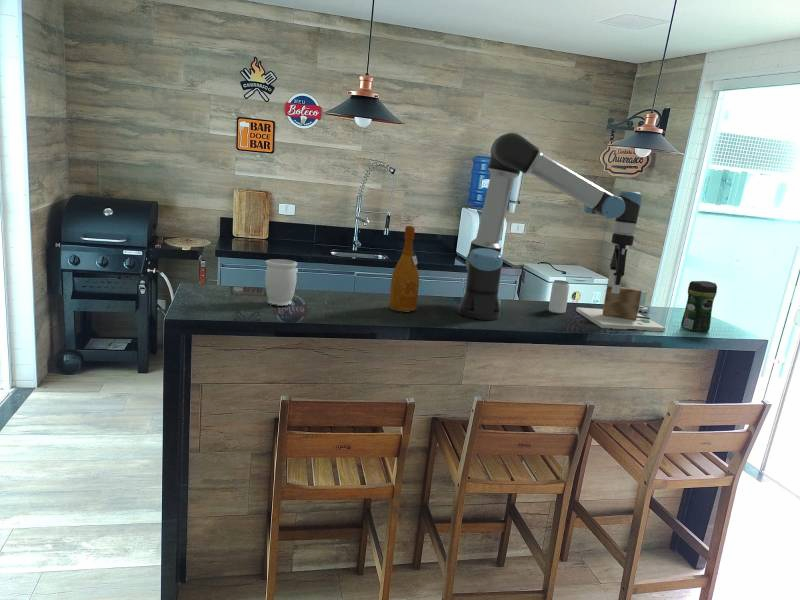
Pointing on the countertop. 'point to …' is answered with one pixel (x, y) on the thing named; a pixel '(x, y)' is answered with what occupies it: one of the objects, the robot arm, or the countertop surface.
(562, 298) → the can
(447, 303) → the countertop surface
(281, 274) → the jar
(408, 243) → the wine bottle
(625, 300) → the brown wooden box
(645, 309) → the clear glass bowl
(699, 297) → the coffee jar
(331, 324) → the countertop surface
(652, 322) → the dial plate
